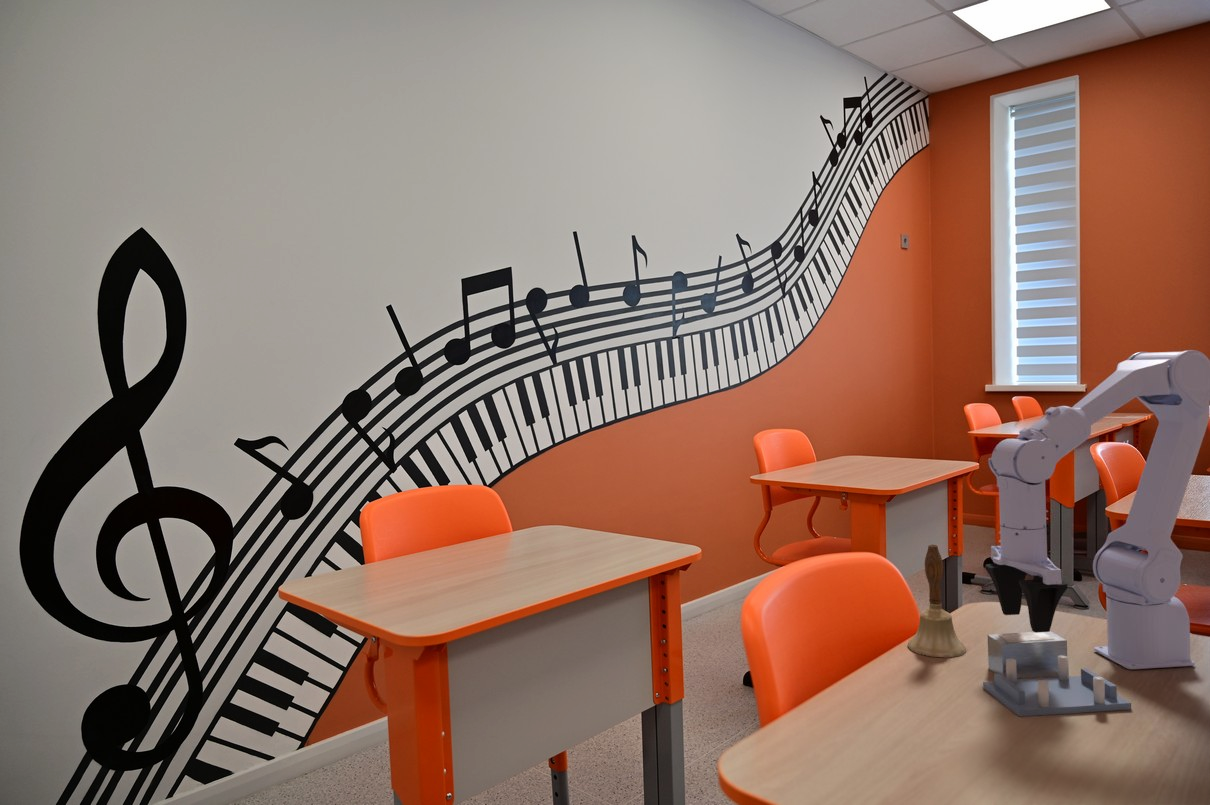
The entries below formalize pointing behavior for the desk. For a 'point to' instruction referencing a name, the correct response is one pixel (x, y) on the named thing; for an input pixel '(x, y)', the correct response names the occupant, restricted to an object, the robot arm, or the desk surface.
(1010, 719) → the desk surface
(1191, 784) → the desk surface
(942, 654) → the hand bell
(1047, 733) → the desk surface
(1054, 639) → the block
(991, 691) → the grey peg stand
